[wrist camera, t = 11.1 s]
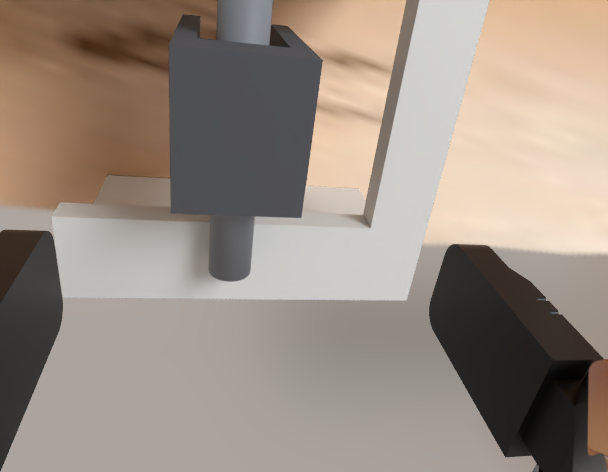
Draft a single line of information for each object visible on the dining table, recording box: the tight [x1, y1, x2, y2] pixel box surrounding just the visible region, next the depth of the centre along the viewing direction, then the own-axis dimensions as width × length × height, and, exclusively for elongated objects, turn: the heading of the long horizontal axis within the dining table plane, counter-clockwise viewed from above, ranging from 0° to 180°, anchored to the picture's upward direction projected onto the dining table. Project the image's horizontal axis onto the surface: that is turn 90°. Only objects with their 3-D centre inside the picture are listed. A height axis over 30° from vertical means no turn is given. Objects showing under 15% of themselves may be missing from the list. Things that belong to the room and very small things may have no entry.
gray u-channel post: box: [169, 14, 323, 218], centre depth 21 cm, size 6×5×9 cm
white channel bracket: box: [51, 0, 489, 300], centre depth 25 cm, size 20×18×14 cm
